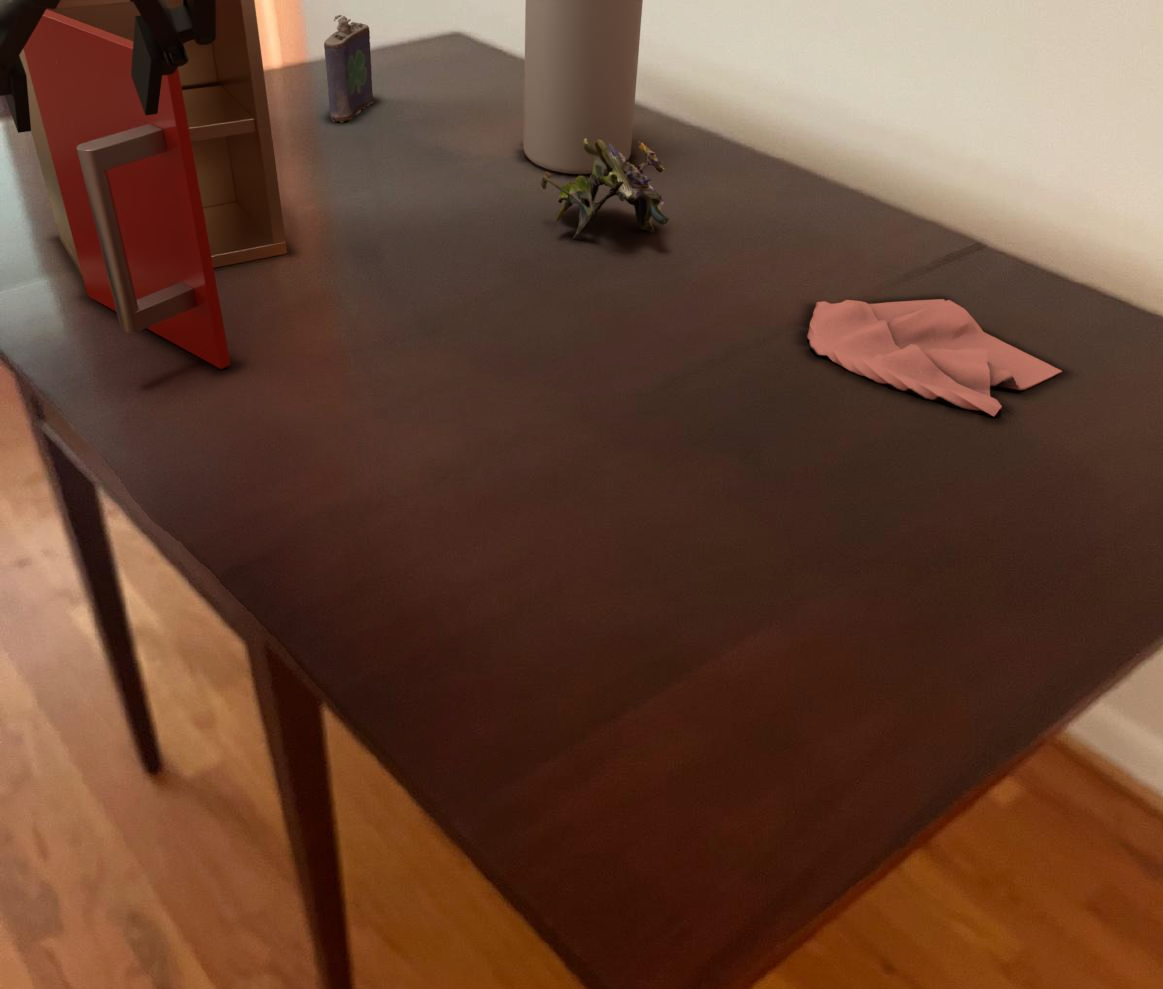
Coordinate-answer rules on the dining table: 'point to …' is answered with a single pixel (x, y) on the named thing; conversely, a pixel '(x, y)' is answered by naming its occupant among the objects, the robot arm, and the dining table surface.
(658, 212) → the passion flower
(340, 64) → the flask
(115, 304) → the valve door
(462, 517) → the dining table surface
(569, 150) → the cylinder vase
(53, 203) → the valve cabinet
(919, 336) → the cloth
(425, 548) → the dining table surface
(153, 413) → the dining table surface
